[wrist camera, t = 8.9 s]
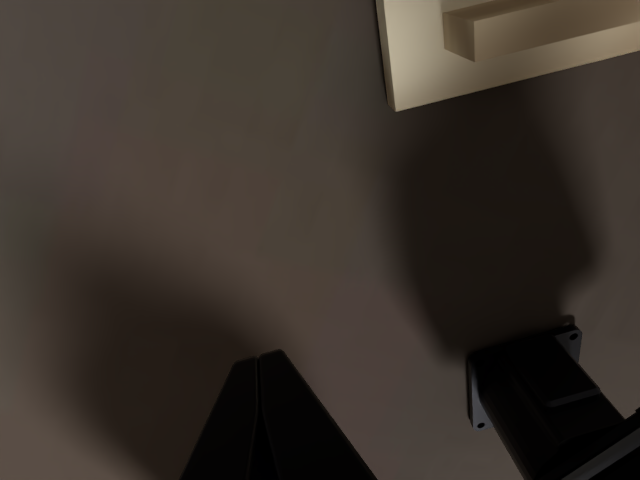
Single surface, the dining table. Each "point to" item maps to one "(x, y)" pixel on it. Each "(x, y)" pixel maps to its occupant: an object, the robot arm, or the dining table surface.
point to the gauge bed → (494, 42)
